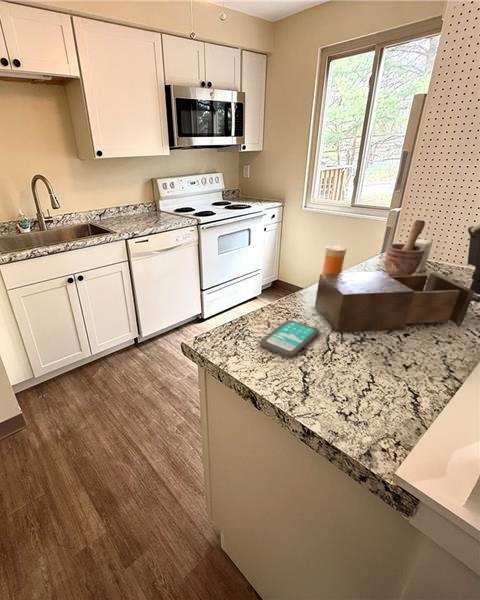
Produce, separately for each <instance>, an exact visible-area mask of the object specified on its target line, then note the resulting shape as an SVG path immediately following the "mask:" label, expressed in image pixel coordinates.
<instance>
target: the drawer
mask: <svg viewBox="0 0 480 600" xmlns="http://www.w3.org/2000/svg"><path fill="white" fill-rule="evenodd" d="M388 276H389V275H388ZM389 277H391V278H393V279H395V280H396V281H398V282H400V283H401V284H403V285H405V286H407V287H408V288H410V289H412V290H413V291H415V292H414V296H413V299H412V302H411V306H410V309H409V312H408V316H407V319H406V322H405V324H423V323H424V324H425V323H426V324H427V323H428V324H429V323H449V322H450V321H451V322H452V323H453V324H456V325H463V323H464V320H465V317H466V316H467V315H466V314H467V312H468V309H469V307H470V304H471V302H475V303H476V304H477V303H478V304H480V295H479V296H478V295H477V294H475V293H474V292H475V291H473V290H471V289H470V287H467V286H465V285H463V284H460V283H458V282H456V281H454V280H452V279H450V278H448V277H445V276H443V275H442V274H439V273H437V272H433V271H432V272H429V273H428V274H413V275H406V276H389Z"/></svg>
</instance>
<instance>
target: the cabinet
mask: <svg viewBox="0 0 480 600" xmlns="http://www.w3.org/2000/svg"><path fill="white" fill-rule="evenodd" d="M414 292H415V291H413V290H412V289H410V288H408V287H407V286H405V285H403V284H401V283H400V282H398V281H396V280H395V279H393V278H391V277H389V274H386V273H385V272H383V271H381V270H376V271H359V272H355V271H354V272H342V273H335V274H322V273H321V274H319V277H318V283H317V291H316V296H315V301H314V302H315V303H314V309H315V310H316V311H317V313H318V314H319V315H320V316H321V317H322V319H324V321H325V322H326V323H327V324H328V325H329V326H330V327H331V328H332V330H333V331H334V332H335V333H351V332H353V333H354V332H357V333H358V332H385V331H392V332H393V331H404V328H405V325H406V323H405V322H406V319H407V316H408V312H409V309H410V306H411V302H412V299H413V296H414Z"/></svg>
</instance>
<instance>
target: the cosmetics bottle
mask: <svg viewBox="0 0 480 600" xmlns="http://www.w3.org/2000/svg"><path fill="white" fill-rule="evenodd" d="M433 242H434V241H433V240H432V239H431V240H430V239H424V238H423V239H422V238H417V240H416V242H415V245H416V246H419V247H423V248H424V249H425V251H424V254H423V257H422V260H421V263H420V265H419V267H418V268H417V270H416V271H415V273H419V272H421V271H423V270H425V269H426V266H427V263H428V258H429V255H430V252H431V248H432V245H433Z"/></svg>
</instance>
